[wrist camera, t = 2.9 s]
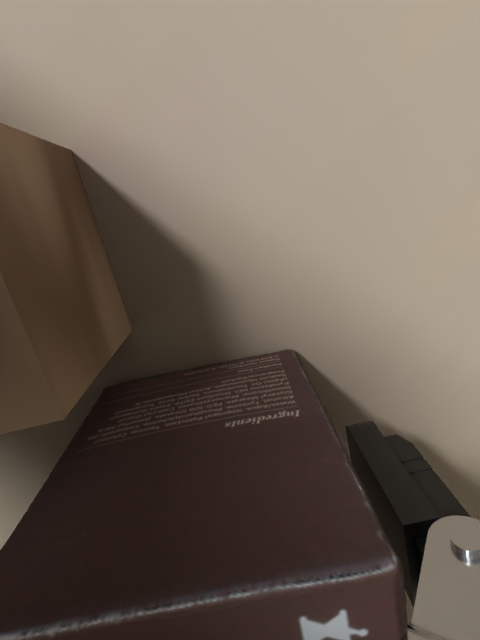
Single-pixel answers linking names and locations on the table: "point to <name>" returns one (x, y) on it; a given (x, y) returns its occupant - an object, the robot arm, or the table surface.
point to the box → (204, 520)
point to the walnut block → (50, 285)
